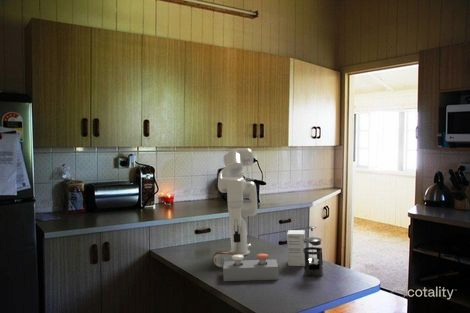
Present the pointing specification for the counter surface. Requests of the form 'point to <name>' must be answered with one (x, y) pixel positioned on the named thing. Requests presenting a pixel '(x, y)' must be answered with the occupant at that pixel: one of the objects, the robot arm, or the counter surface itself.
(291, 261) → the supplement box
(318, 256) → the french press
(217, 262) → the tin
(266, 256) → the red button
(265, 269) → the console
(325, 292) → the counter surface
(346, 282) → the counter surface
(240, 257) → the white button
